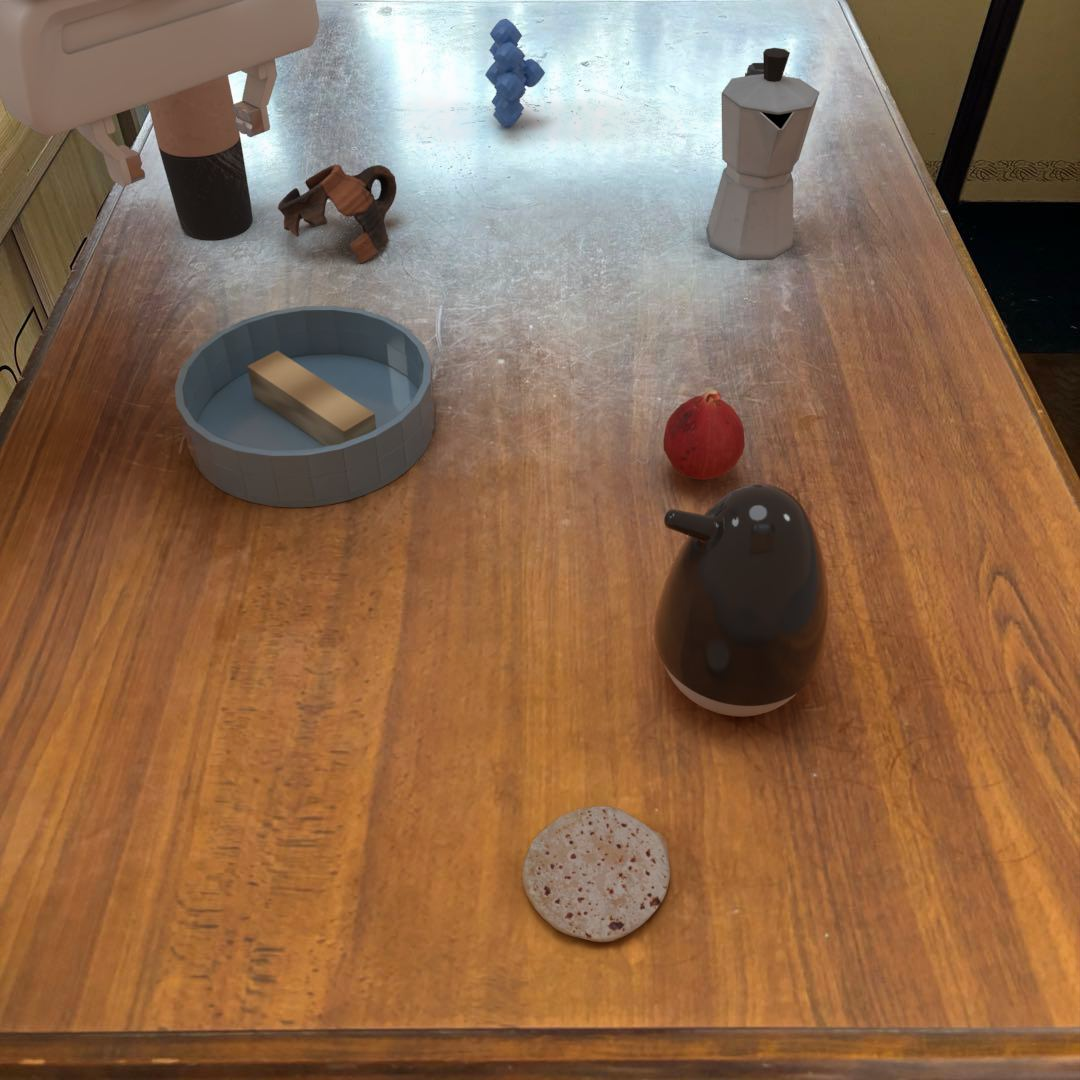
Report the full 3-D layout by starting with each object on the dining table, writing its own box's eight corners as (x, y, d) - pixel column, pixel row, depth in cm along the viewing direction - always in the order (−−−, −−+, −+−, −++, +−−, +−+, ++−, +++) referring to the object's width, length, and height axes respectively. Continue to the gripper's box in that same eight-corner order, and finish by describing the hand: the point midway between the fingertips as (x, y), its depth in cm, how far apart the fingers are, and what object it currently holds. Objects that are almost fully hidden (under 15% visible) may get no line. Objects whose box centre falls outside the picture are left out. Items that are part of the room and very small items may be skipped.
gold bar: (253, 396, 89) (246, 365, 87) (283, 380, 91) (277, 350, 89) (348, 462, 83) (343, 431, 81) (378, 444, 85) (374, 413, 83)
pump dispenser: (636, 619, 73) (652, 440, 62) (791, 611, 73) (834, 432, 63) (658, 748, 66) (682, 570, 55) (830, 738, 66) (886, 560, 55)
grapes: (549, 146, 123) (551, 36, 115) (489, 149, 123) (486, 38, 115) (540, 104, 132) (540, -3, 123) (483, 106, 131) (480, -1, 123)
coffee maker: (805, 271, 104) (841, 79, 92) (712, 271, 104) (736, 80, 92) (779, 196, 115) (809, 16, 103) (695, 197, 115) (714, 16, 102)
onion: (676, 509, 81) (687, 422, 75) (649, 460, 84) (657, 374, 79) (749, 494, 82) (765, 408, 76) (719, 446, 86) (732, 361, 80)
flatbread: (581, 973, 56) (581, 964, 55) (496, 862, 60) (495, 853, 59) (701, 885, 59) (703, 876, 58) (613, 787, 63) (614, 777, 63)
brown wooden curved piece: (345, 284, 104) (292, 207, 99) (305, 285, 111) (254, 215, 107) (434, 210, 107) (386, 133, 103) (389, 216, 115) (343, 145, 111)
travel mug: (233, 197, 115) (191, -7, 101) (270, 225, 111) (231, 16, 97) (165, 220, 111) (112, 11, 97) (200, 249, 107) (150, 36, 93)
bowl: (141, 429, 87) (124, 377, 84) (331, 330, 97) (323, 280, 94) (291, 546, 78) (280, 493, 74) (485, 422, 88) (482, 371, 84)
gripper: (258, -133, 68) (293, 92, 77) (-66, -57, 57) (22, 193, 66) (323, -114, 64) (351, 119, 74) (-6, -30, 54) (77, 229, 63)
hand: (193, 155), depth 70 cm, fingers open, 8 cm apart
